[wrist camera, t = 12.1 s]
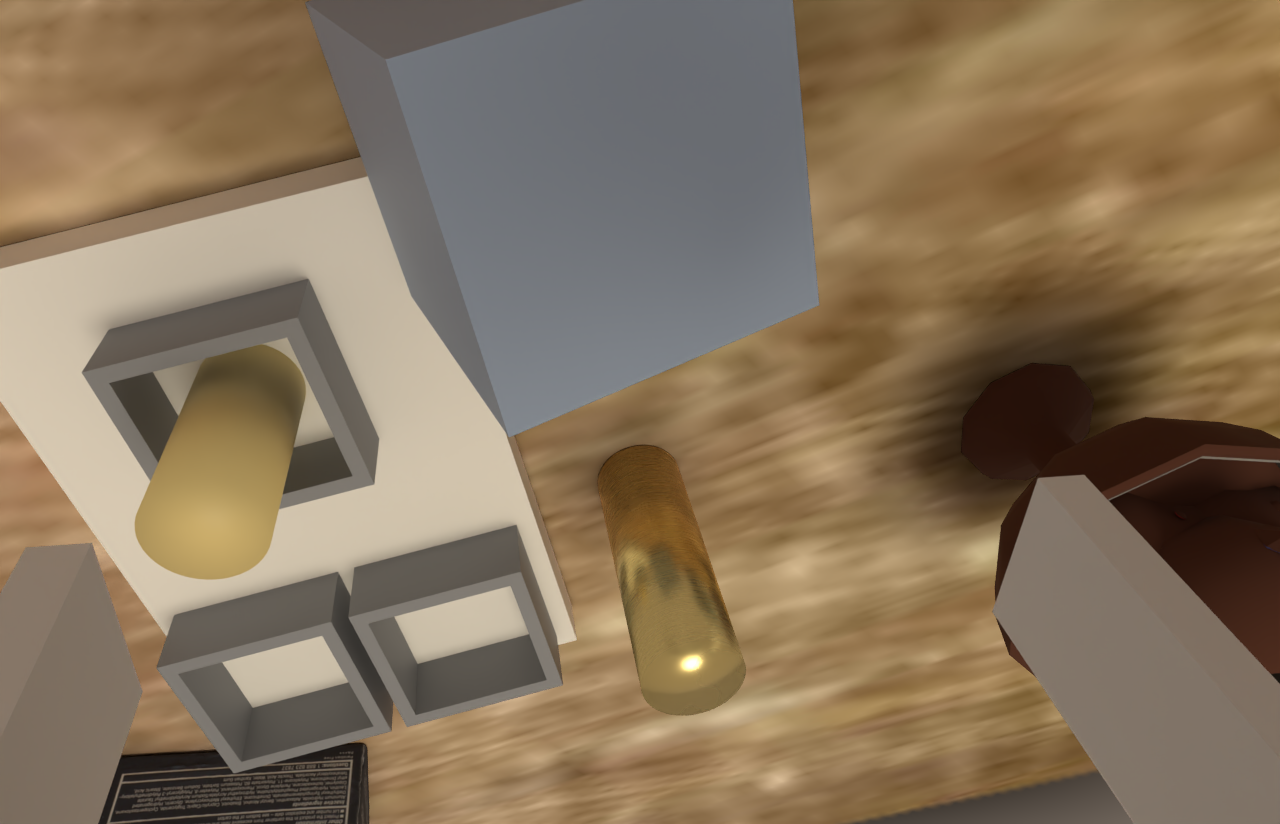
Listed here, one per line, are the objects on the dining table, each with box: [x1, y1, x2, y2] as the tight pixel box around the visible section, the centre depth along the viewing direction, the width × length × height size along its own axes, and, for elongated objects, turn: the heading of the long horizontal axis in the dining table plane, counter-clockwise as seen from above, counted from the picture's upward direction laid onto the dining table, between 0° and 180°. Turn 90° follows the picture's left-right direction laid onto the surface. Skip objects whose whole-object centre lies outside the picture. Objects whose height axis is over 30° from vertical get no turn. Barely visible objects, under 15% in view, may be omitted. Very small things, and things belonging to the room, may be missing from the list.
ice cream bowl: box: [961, 363, 1280, 677], centre depth 32 cm, size 11×11×15 cm
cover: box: [305, 0, 819, 437], centre depth 24 cm, size 8×8×9 cm
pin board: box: [0, 157, 577, 773], centre depth 30 cm, size 20×14×9 cm
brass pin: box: [598, 445, 746, 715], centre depth 33 cm, size 3×3×10 cm
